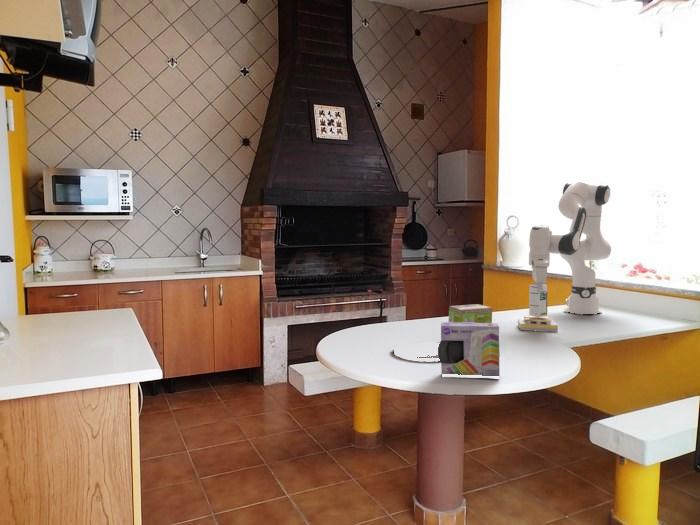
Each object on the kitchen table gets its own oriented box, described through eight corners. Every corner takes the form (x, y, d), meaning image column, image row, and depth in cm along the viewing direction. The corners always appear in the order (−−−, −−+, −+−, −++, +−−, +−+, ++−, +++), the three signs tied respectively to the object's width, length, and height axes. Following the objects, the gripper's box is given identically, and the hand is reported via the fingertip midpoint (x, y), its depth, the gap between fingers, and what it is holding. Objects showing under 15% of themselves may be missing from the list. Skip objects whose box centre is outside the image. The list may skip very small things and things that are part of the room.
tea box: (461, 346, 212) (462, 309, 210) (447, 340, 221) (447, 305, 220) (492, 342, 218) (492, 306, 217) (476, 337, 227) (477, 303, 226)
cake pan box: (437, 378, 170) (438, 323, 169) (438, 373, 175) (438, 320, 174) (499, 381, 166) (500, 325, 165) (498, 376, 171) (499, 322, 170)
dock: (517, 325, 251) (518, 318, 251) (553, 326, 248) (553, 320, 247) (520, 330, 239) (520, 323, 239) (557, 332, 236) (557, 325, 236)
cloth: (523, 319, 249) (524, 315, 249) (548, 320, 246) (548, 316, 246) (525, 323, 240) (525, 319, 240) (551, 324, 238) (551, 320, 238)
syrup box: (539, 317, 239) (539, 285, 238) (528, 315, 244) (529, 284, 243) (547, 316, 242) (548, 284, 241) (536, 314, 247) (537, 283, 246)
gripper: (529, 259, 252) (528, 288, 253) (534, 263, 232) (533, 294, 233) (543, 259, 250) (542, 288, 251) (549, 263, 230) (548, 294, 232)
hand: (538, 291), depth 242 cm, fingers closed on syrup box, 8 cm apart
